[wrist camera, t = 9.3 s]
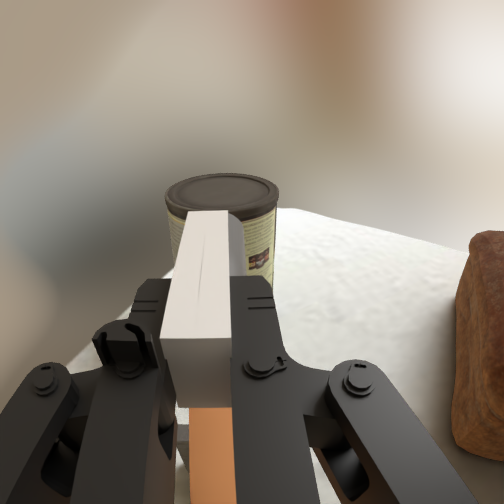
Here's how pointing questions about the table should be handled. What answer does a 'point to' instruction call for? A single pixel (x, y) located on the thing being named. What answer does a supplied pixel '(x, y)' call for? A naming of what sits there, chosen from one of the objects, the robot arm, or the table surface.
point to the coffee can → (238, 204)
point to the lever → (216, 418)
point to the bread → (480, 350)
